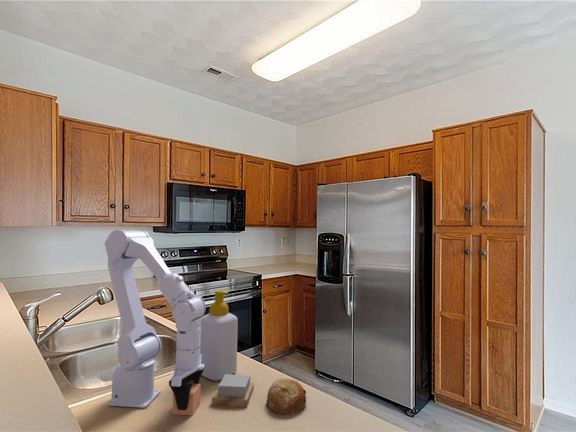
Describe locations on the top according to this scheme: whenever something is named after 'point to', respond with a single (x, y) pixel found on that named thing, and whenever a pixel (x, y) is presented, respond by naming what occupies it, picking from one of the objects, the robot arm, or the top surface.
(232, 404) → the walnut slab
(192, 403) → the terracotta cube
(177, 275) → the robot arm
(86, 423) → the top surface
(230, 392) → the grey slab
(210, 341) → the soap bottle
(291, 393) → the bread roll
